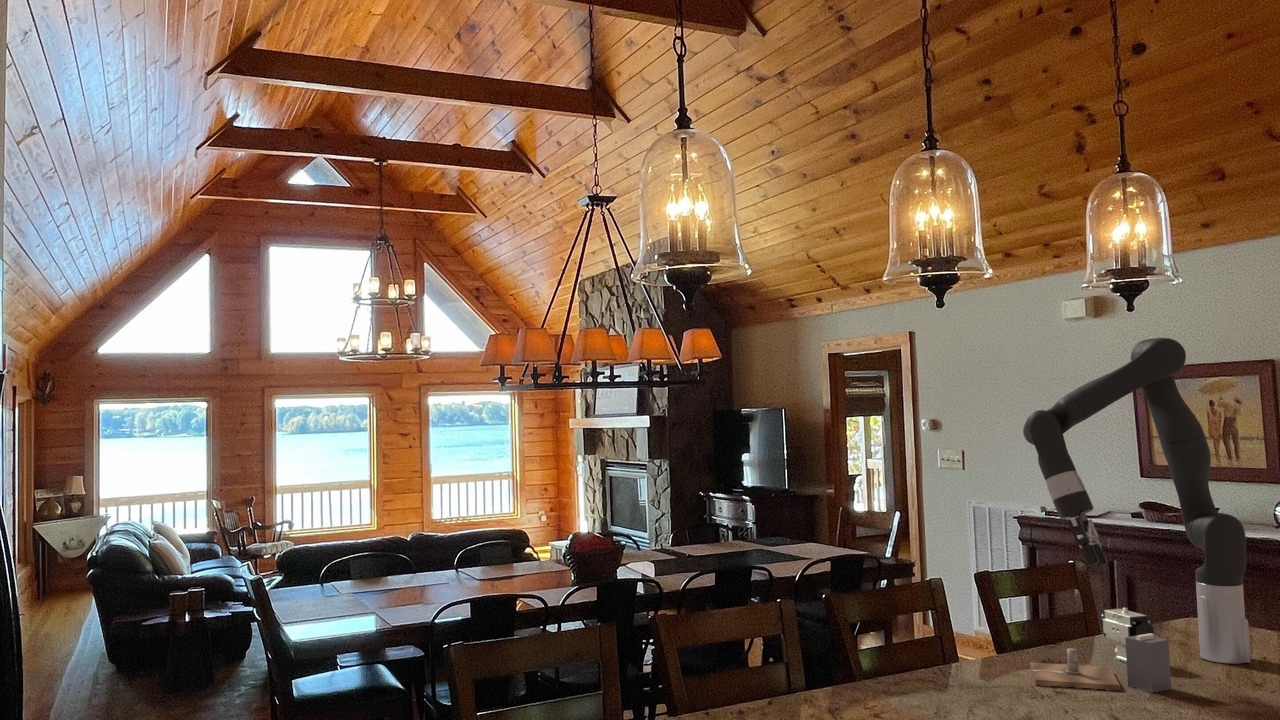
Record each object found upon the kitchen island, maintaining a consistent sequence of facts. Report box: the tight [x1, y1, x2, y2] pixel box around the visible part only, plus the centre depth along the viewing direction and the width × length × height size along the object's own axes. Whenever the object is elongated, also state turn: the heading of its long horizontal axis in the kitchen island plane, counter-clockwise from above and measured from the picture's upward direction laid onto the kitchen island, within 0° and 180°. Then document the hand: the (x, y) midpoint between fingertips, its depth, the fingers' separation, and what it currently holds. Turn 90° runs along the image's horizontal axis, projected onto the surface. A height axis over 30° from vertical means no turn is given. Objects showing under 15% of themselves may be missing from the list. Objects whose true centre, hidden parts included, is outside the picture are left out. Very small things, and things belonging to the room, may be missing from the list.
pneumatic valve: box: [1099, 607, 1155, 663], centre depth 211 cm, size 6×12×12 cm, turn 15°
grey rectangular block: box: [1125, 633, 1172, 694], centre depth 191 cm, size 6×6×11 cm
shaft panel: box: [1030, 647, 1121, 691], centre depth 198 cm, size 16×14×6 cm
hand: (1098, 564), depth 204 cm, fingers open, 8 cm apart
